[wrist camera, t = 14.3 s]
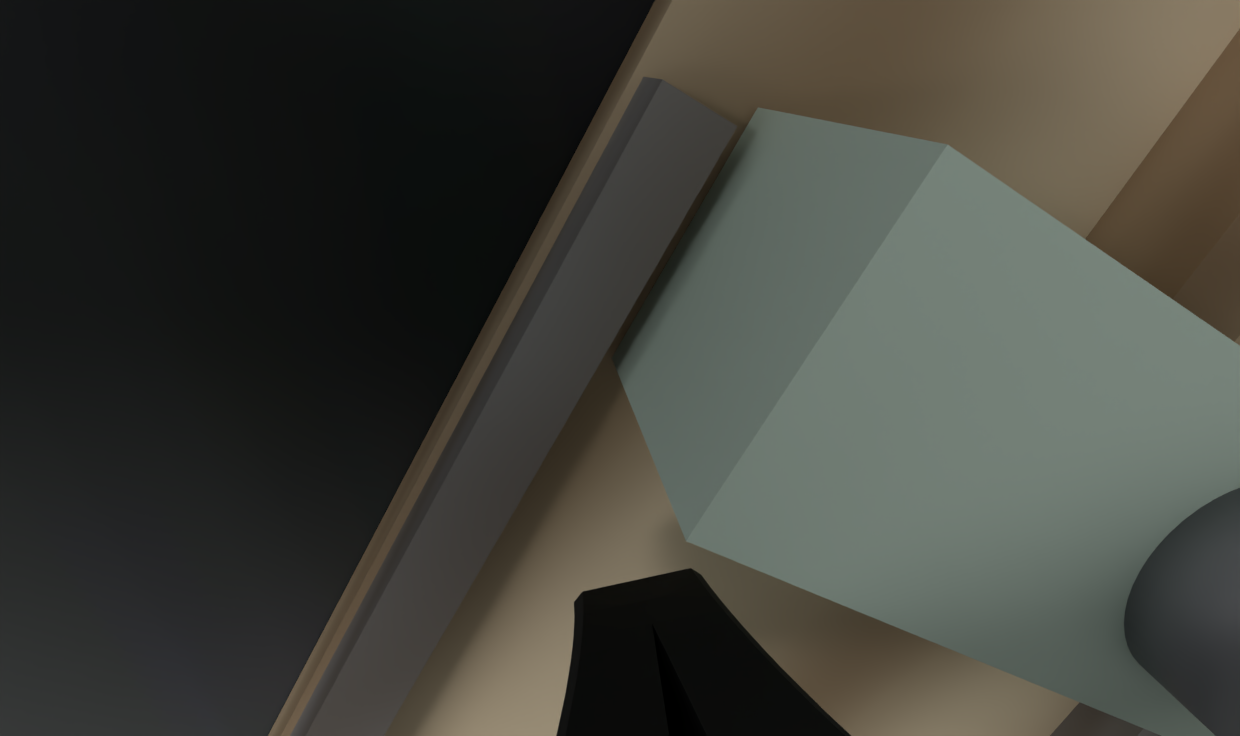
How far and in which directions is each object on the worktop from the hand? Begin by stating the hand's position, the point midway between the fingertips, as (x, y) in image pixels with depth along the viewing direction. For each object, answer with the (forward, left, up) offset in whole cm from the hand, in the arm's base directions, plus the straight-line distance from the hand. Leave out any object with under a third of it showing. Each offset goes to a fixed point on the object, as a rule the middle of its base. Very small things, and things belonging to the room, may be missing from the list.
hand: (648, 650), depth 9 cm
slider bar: (+3, +4, -1) cm, 5 cm away
